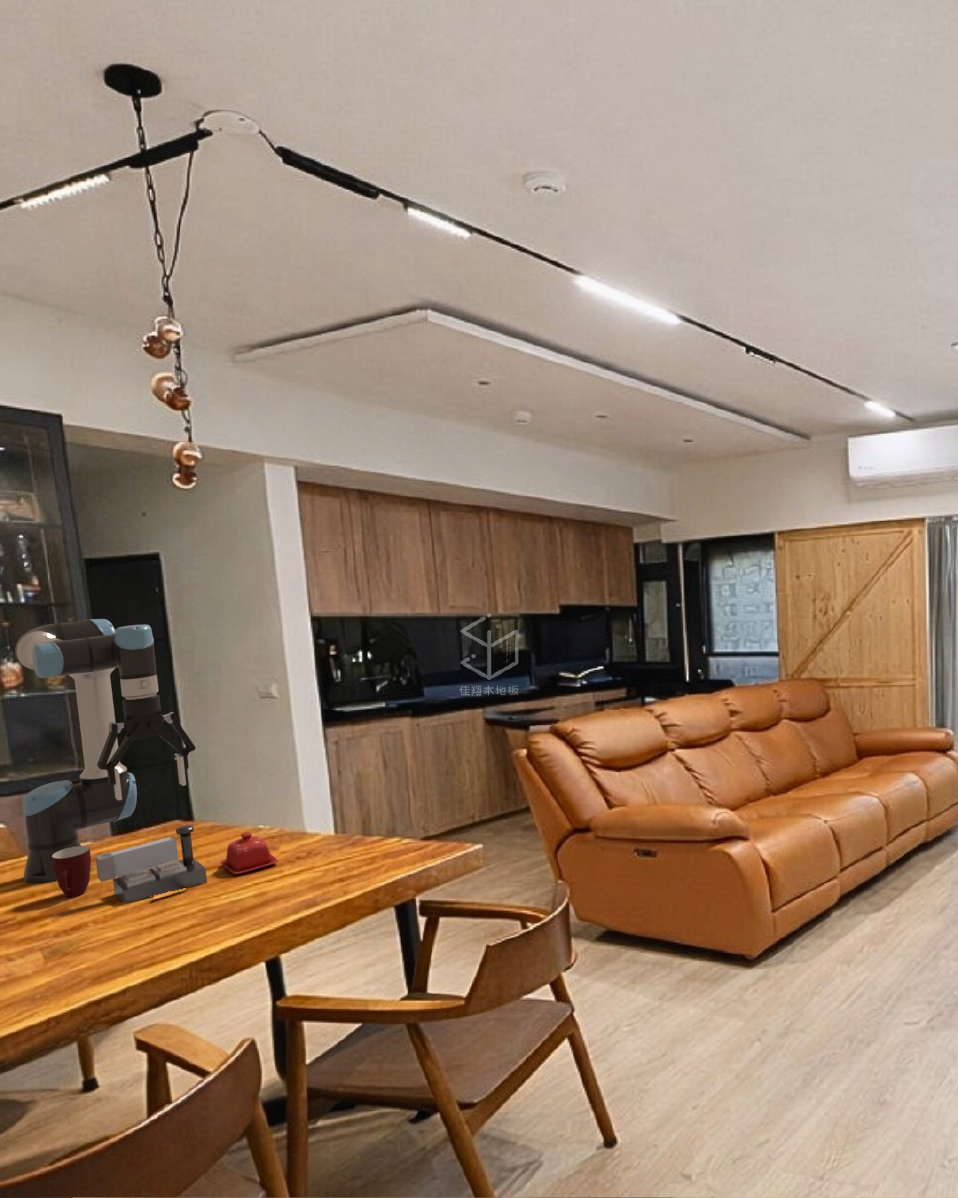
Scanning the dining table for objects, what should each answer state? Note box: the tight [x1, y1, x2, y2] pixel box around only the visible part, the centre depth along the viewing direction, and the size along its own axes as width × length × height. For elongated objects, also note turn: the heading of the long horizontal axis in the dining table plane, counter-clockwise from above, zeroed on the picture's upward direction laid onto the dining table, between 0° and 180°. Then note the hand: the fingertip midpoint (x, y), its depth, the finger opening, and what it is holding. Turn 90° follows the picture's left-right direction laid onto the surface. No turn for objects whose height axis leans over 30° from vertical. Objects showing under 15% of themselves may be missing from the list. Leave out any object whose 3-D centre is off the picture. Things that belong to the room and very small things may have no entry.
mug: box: [52, 845, 92, 898], centre depth 198 cm, size 11×8×10 cm
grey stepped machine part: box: [112, 825, 208, 904], centre depth 197 cm, size 10×18×12 cm, turn 126°
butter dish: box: [220, 831, 279, 875], centre depth 209 cm, size 12×12×8 cm
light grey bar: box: [94, 836, 179, 883], centre depth 195 cm, size 17×4×5 cm, turn 126°
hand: (151, 791), depth 188 cm, fingers open, 13 cm apart
